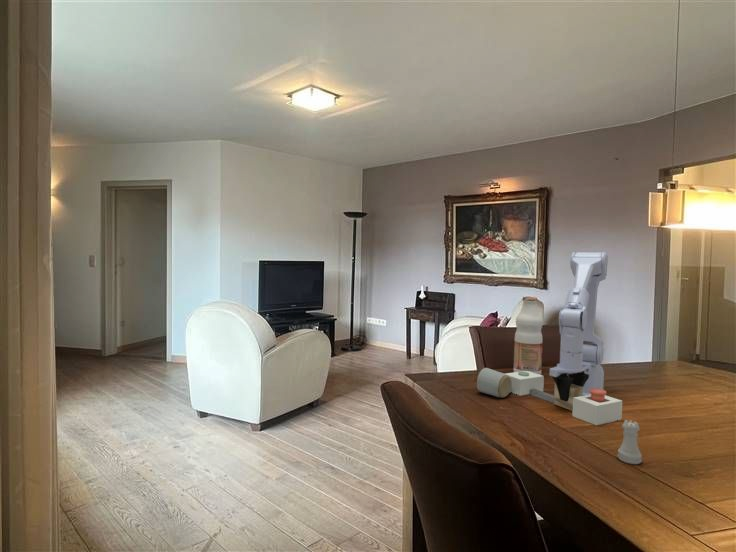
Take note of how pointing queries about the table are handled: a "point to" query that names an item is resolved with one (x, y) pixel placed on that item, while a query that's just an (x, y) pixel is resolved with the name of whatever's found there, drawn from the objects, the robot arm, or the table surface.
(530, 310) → the fruit juice
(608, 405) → the white button housing
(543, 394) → the rail
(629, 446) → the rook chess piece
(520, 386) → the white button box
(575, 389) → the block
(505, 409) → the table surface
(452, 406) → the table surface
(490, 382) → the ceramic mug
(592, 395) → the knob
